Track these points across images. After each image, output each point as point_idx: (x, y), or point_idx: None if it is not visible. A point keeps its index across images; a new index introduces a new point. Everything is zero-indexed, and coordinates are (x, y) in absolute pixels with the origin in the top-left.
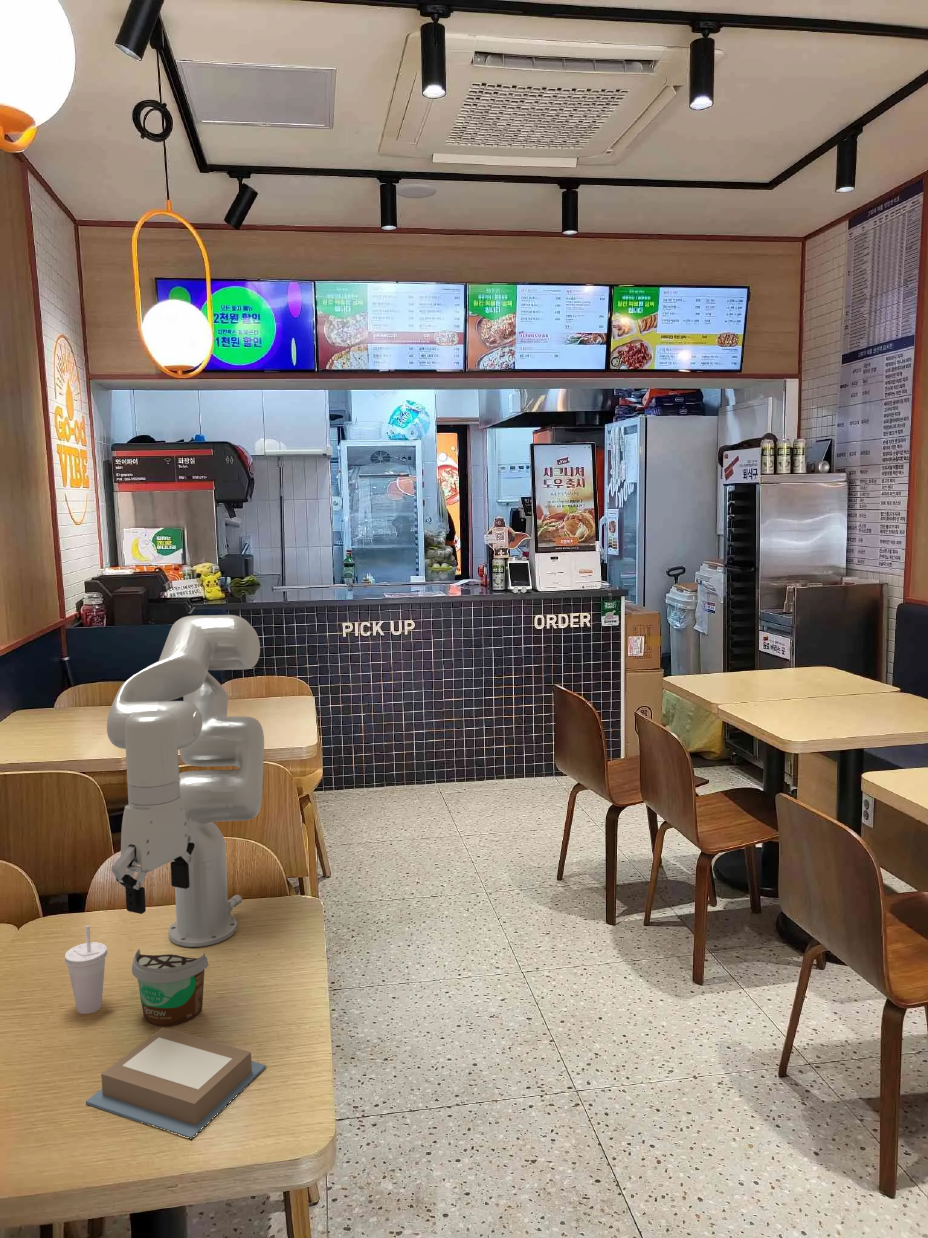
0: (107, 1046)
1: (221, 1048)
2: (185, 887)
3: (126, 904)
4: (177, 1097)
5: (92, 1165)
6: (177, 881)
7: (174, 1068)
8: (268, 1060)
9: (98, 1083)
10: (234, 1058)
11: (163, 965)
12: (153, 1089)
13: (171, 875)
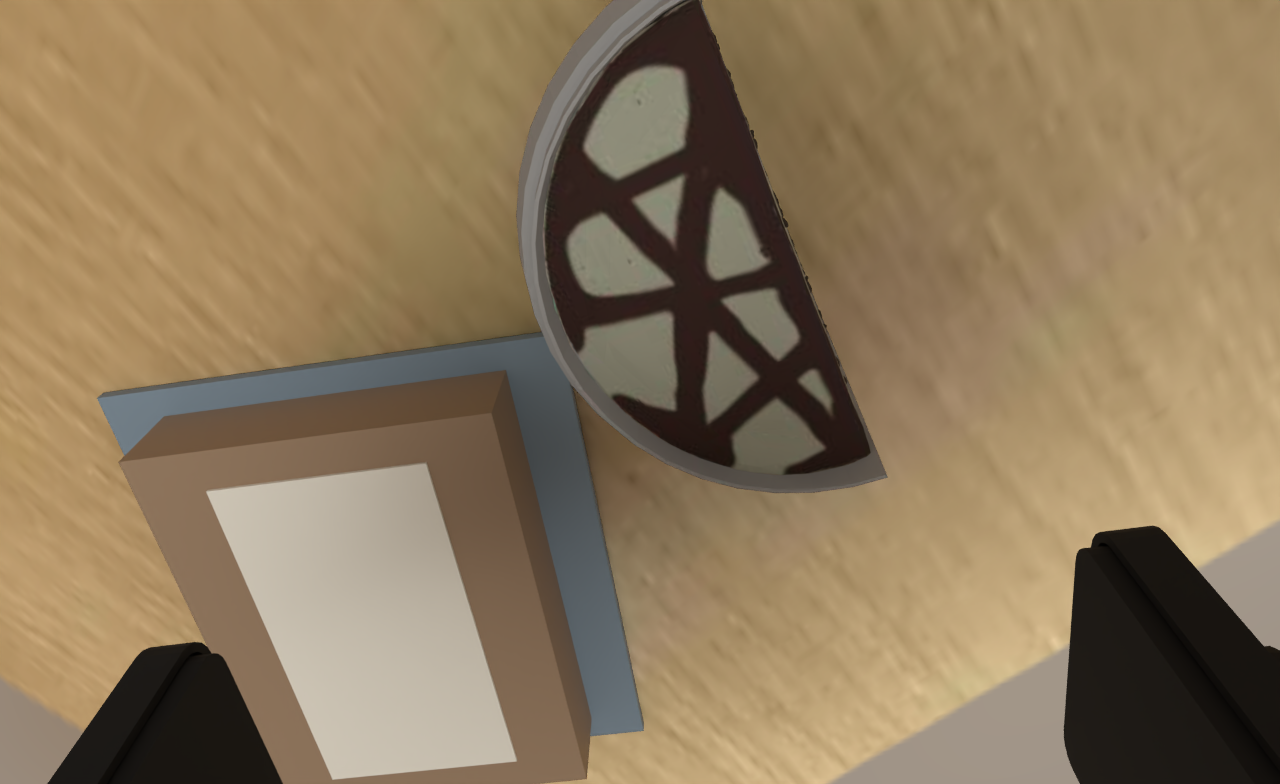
0: (354, 126)
1: (537, 698)
2: (1074, 758)
3: (106, 704)
4: None
5: (11, 631)
6: (1113, 707)
7: (343, 655)
8: (681, 704)
9: (195, 326)
10: (524, 762)
11: (670, 303)
12: None
13: (1172, 674)
